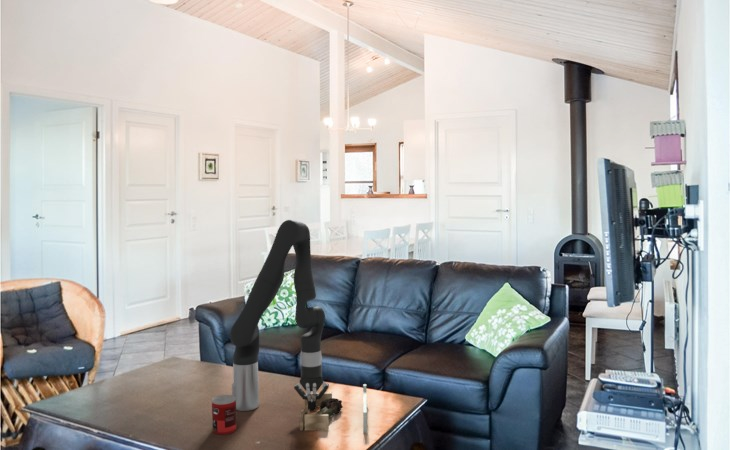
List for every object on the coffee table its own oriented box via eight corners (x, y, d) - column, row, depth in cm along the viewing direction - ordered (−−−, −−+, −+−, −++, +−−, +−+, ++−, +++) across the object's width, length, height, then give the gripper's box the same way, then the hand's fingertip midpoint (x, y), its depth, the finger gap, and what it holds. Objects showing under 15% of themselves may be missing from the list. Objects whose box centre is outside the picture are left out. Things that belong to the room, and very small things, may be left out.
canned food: (214, 426, 190) (214, 395, 190) (238, 425, 191) (237, 394, 190) (210, 435, 183) (209, 403, 182) (234, 434, 183) (234, 402, 183)
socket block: (299, 430, 186) (299, 416, 185) (306, 405, 208) (306, 392, 208) (328, 430, 186) (328, 415, 186) (332, 405, 208) (331, 392, 208)
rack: (363, 433, 183) (363, 412, 183) (363, 402, 211) (363, 384, 211) (367, 433, 183) (366, 412, 183) (366, 402, 211) (366, 384, 211)
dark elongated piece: (320, 430, 187) (320, 413, 187) (304, 426, 190) (303, 410, 189) (345, 411, 203) (344, 396, 202) (329, 408, 206) (328, 393, 205)
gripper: (291, 366, 192) (292, 414, 193) (328, 365, 192) (329, 414, 193) (294, 360, 200) (295, 406, 200) (330, 359, 199) (331, 406, 200)
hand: (312, 410), depth 197 cm, fingers closed
